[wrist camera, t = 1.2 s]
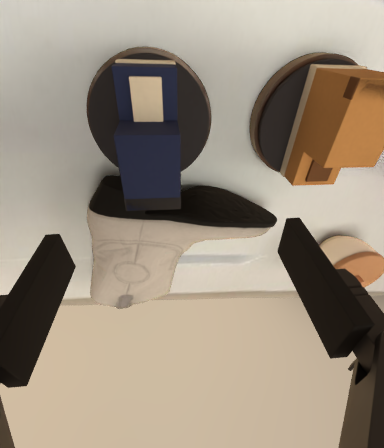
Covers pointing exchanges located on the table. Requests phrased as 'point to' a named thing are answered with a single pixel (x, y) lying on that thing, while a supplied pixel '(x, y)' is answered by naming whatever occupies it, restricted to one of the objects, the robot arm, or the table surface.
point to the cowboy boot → (159, 238)
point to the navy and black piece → (149, 126)
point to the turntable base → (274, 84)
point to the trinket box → (354, 258)
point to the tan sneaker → (324, 121)
